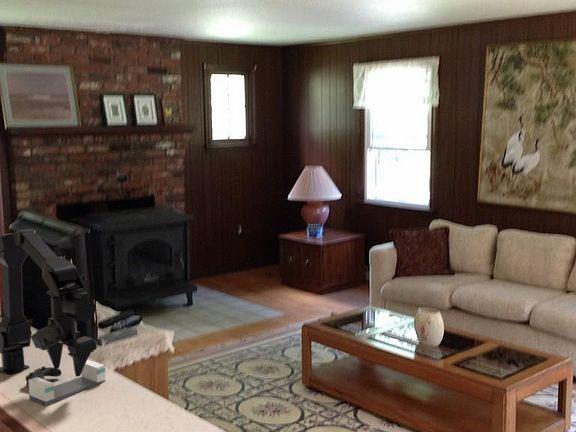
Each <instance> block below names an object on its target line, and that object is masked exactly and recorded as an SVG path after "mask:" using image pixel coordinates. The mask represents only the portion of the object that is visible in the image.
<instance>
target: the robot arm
mask: <svg viewBox="0 0 576 432" xmlns="http://www.w3.org/2000/svg"><path fill="white" fill-rule="evenodd" d="M28 256H29V258H31V260H33V262H34V263H35V264H36V265H37V266H38V267H39V268H40V270H41V271H42V277H41V278H42V280H43V282H44V283H45V284H46V286H47V288H48V290H47V291H46V294H47V295H48V296H50V301H51V303H50V305H51V317H48V320H47V325H45V326H44V327H41V328H40V329H38V330H37V331H36V332H35V333H34V334H32V333H33V332H32V322H31V321H29V320H28V319H27V318H26V317H25V314H24V298H23V297H24V295H23V294H24V293H23V268H22V267H23V264H24V262H25V260H26V258H27V257H28ZM0 263H1V264H2V283H3V287H2V288H3V309H4V314H3V317H2V319H1V320H0V355H1V366H0V372H1V373H4V374H6V375H13V374H16V373H19V372H21V371H25V370H29V369H30V366H29V365H27V364H25V354H24V348H27V347H31V341H32V343H33V345H34V347H35V349H40V350H41V351H46V352H47V353H48V356H49V358H50V360H51V363H52V367H54V368H55V369H60V365H61V362H62V361H61V360H62V353H63V349H64V345H67V350H68V353H67V355H68V356H70V358H72V362H73V368H74V369H73V370H74V375H75V377H76V378H79V377H81V373H82V370H83V368H84V366H85V364H86V361H87V360H89V357H90V356H91V353H93V352H94V351H96V350H97V349H98V343H97V340H95V338H92V337H89V336H87V335H86V336H85V335H84V336H81V331H78V330H77V321H82V322H86V321H89V320H91V319H92V318H93V317H94V315H95V314H96V310H97V305H96V303H95V301H94V300H93V299H92V298H90V297H89V293H88V292H86V291H87V288H86V287H85V286H86V285H85V281H84V279H82V276H81V275H80V273H79V270H78V269H77V267H76V266H75V265H74V264H73V263H72V262H71V261H70V260H68V259H66V258H62V257H59V256H57V255H56V254H55V252H54V251H52V249H51V248H50V247H49V246H48V245H47V244H46V243H45V242H44V241H43V240H42V239H41V237H40V236H39V235H38V232H37V230H36V229H32V228H28V229H21V230H17V231H15V232H11V233H4V234H0ZM80 336H81V337H80ZM77 337H78V338H77Z"/></svg>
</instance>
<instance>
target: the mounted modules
mask: <svg viewBox="0 0 576 432" xmlns="http://www.w3.org/2000/svg"><path fill="white" fill-rule="evenodd" d="M105 373H106V367H105V364H102V363H99V362H96V361H93V360H90V359H87V361H86V364H85V366H84V368H83V370H82V373H81V375H80V377H84V378H86V379H89V380H92V381H95V382H100V381H103V380H105V381H106V374H105ZM54 386H55V385H54V383H53V382H52V381H49V380H46V379H45V380H44V379H41V378H38V377H35V378H32V379H29V385H28V391H29V395H31V396H33V397H35V398H38V399H40V400H43V401H45V402H46V401H49V400H52V399H54Z"/></svg>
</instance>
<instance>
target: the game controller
mask: <svg viewBox="0 0 576 432" xmlns="http://www.w3.org/2000/svg"><path fill="white" fill-rule="evenodd" d="M61 375H62V370H61V369H60V368H58V369H55V368H54V366H52V367H46V366H44V365H43V366H41V368H40V367H39V368H36V369H35V370H33V371H31V372H29V373H28V374H27V375H26V376H25V377H24V378H25V381H26V386H29V379H32V378H35V377H38V378H41V379H44V380H46V378H45V377H60V376H61Z"/></svg>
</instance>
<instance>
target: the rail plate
mask: <svg viewBox="0 0 576 432" xmlns="http://www.w3.org/2000/svg"><path fill="white" fill-rule="evenodd" d="M105 382H106V379H105V380H103V381H100V382H95V381H92V380H89V379H86V378H84V377H81V376H78V377H76V378H74V379H70V380H68V381H66V382H63V383H60V384H56V385H53V386H54V399H52V400H49V401H46V402H45V401H43V400H40V399H38V398H35V397H33V396H31V395H29V397H28V398H29V400H31V401H34V402H35V403H38V404H40V405H43V406H48V405H51V404H54V403H57V402H59V401H62V400H64V399H66V398H69V397H72V396H73V395H76V394H78V393H80V392H83V391H85V390H87V389H90V388H93V387H95V386H97V385H100V384H102V383H105Z"/></svg>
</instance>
